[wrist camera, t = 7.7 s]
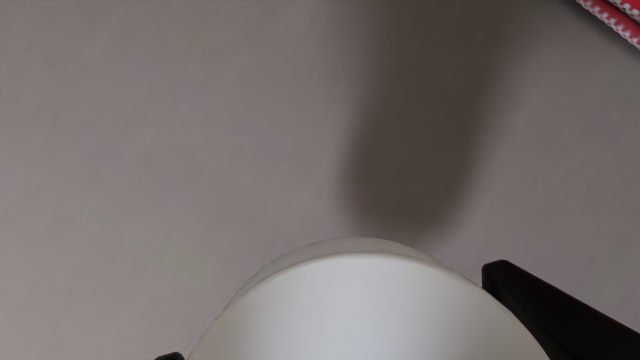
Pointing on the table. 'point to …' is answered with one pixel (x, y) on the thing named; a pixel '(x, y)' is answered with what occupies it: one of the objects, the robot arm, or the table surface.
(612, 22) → the dish towel
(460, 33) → the table surface
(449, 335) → the pill bottle
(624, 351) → the robot arm
